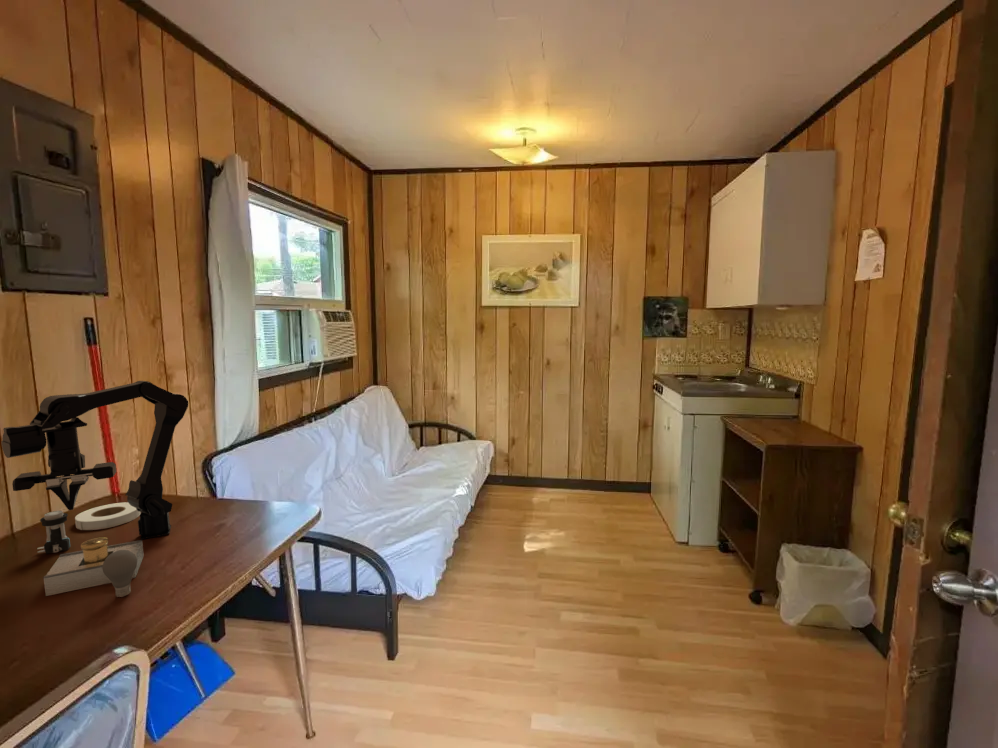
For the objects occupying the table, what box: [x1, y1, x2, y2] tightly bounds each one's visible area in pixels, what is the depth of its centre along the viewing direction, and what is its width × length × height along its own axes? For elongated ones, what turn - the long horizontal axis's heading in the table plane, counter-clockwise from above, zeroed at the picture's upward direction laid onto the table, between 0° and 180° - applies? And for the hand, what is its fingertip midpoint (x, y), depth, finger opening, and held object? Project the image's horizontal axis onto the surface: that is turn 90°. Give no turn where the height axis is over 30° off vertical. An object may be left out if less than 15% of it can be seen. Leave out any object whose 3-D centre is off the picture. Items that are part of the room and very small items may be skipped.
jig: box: [43, 539, 145, 597], centre depth 119 cm, size 16×12×4 cm
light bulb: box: [102, 550, 137, 598], centre depth 110 cm, size 6×6×10 cm
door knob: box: [80, 536, 109, 565], centre depth 119 cm, size 5×5×8 cm
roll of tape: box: [74, 501, 141, 531], centre depth 152 cm, size 16×15×3 cm
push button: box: [36, 510, 71, 554], centre depth 131 cm, size 7×5×10 cm
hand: (71, 509), depth 125 cm, fingers closed
